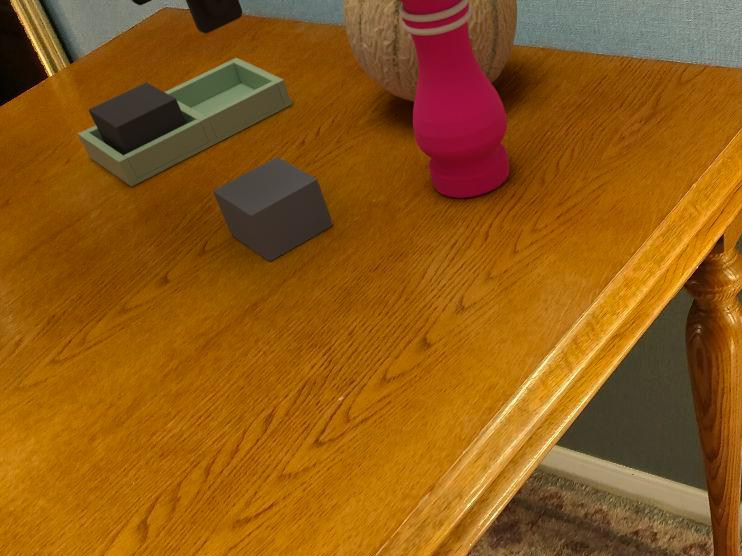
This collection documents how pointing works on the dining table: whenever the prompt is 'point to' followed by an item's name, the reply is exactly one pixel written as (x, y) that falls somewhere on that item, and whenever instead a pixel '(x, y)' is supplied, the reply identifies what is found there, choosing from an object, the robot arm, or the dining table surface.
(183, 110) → the holder
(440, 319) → the dining table surface
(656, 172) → the dining table surface
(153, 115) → the dark grey block
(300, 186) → the grey square block
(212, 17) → the robot arm
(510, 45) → the cantaloupe
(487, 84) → the pepper mill
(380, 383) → the dining table surface
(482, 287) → the dining table surface
